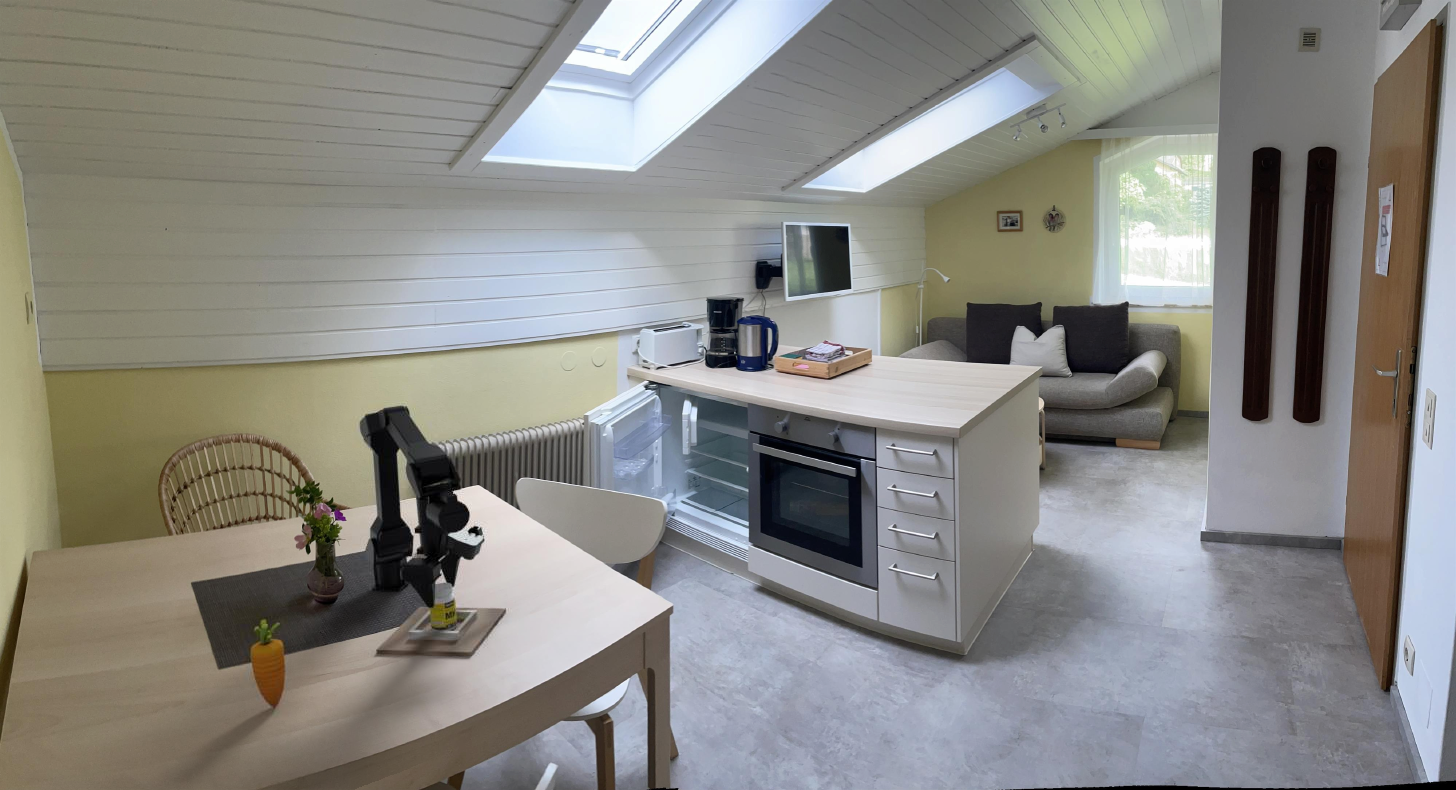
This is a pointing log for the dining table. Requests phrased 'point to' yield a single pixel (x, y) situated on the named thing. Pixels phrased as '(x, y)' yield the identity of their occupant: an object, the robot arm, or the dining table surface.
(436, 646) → the board
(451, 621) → the supplement bottle
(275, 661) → the carrot
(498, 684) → the dining table surface
